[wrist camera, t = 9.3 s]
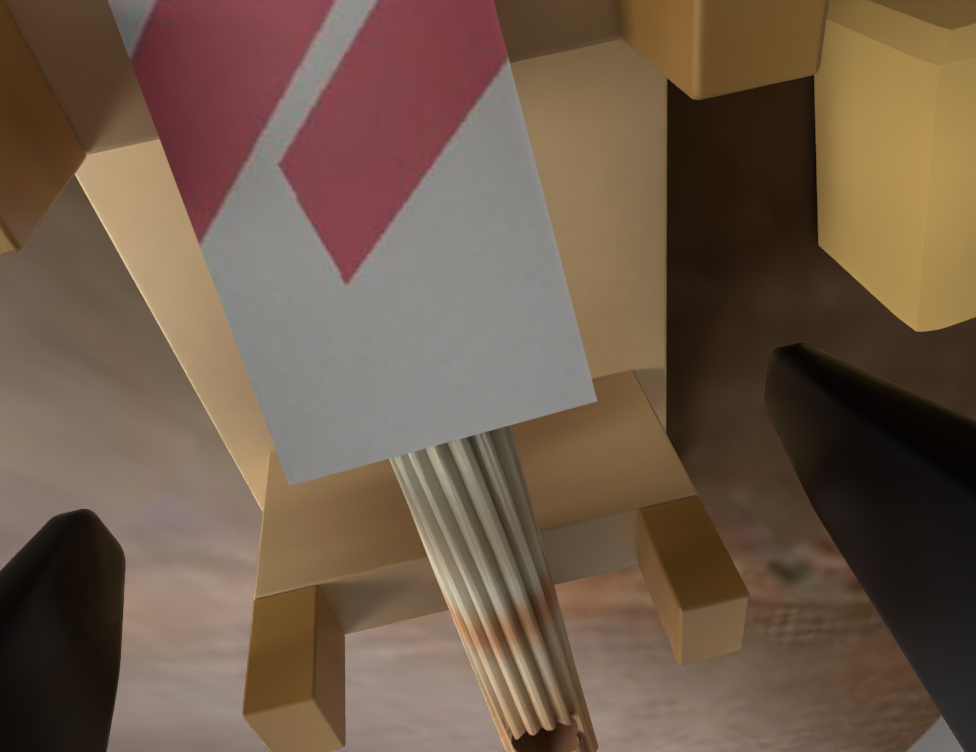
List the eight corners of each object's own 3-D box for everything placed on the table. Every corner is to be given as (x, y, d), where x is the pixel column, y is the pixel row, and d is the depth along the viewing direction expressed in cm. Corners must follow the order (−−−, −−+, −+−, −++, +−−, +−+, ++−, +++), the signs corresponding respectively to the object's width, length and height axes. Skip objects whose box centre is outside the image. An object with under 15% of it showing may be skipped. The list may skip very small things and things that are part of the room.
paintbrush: (319, -1390, 3) (659, 801, 14) (334, -840, 5) (617, 678, 17) (-577, -1176, 3) (472, 852, 14) (-177, -713, 5) (456, 722, 17)
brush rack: (636, -578, 9) (1188, -1281, 3) (652, 481, 21) (768, 731, 15) (-205, -416, 8) (-1304, -861, 3) (310, 561, 20) (299, 845, 15)
